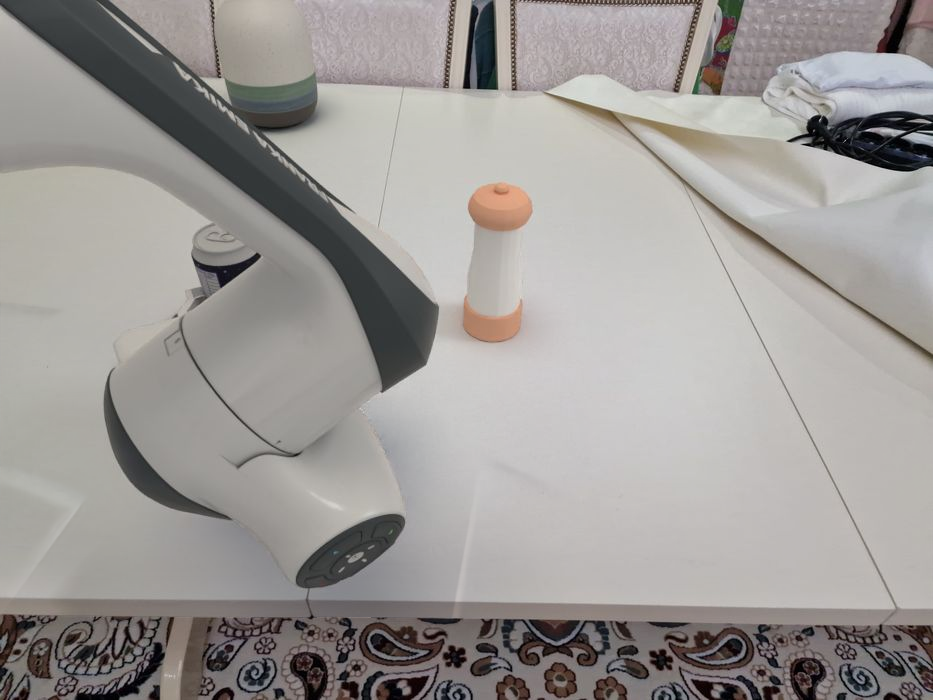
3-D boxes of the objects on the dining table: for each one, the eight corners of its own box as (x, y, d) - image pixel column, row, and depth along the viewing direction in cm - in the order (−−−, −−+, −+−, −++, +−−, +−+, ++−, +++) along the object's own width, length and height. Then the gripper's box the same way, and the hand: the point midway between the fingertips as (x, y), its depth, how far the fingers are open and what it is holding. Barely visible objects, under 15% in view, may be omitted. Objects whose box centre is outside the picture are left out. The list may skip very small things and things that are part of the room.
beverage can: (270, 369, 56) (241, 258, 48) (211, 360, 56) (173, 250, 48) (293, 329, 60) (270, 221, 52) (238, 322, 61) (207, 214, 53)
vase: (332, 105, 129) (316, -27, 112) (304, 138, 116) (282, -4, 100) (254, 99, 130) (228, -32, 114) (219, 131, 118) (184, -11, 102)
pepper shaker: (504, 349, 74) (518, 208, 61) (452, 329, 77) (454, 189, 64) (529, 317, 79) (547, 179, 66) (479, 298, 81) (487, 162, 68)
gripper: (405, 310, 47) (343, 226, 56) (116, 399, 40) (97, 285, 49) (408, 369, 51) (350, 282, 60) (147, 459, 44) (125, 344, 53)
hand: (235, 284), depth 54 cm, fingers closed on beverage can, 5 cm apart
